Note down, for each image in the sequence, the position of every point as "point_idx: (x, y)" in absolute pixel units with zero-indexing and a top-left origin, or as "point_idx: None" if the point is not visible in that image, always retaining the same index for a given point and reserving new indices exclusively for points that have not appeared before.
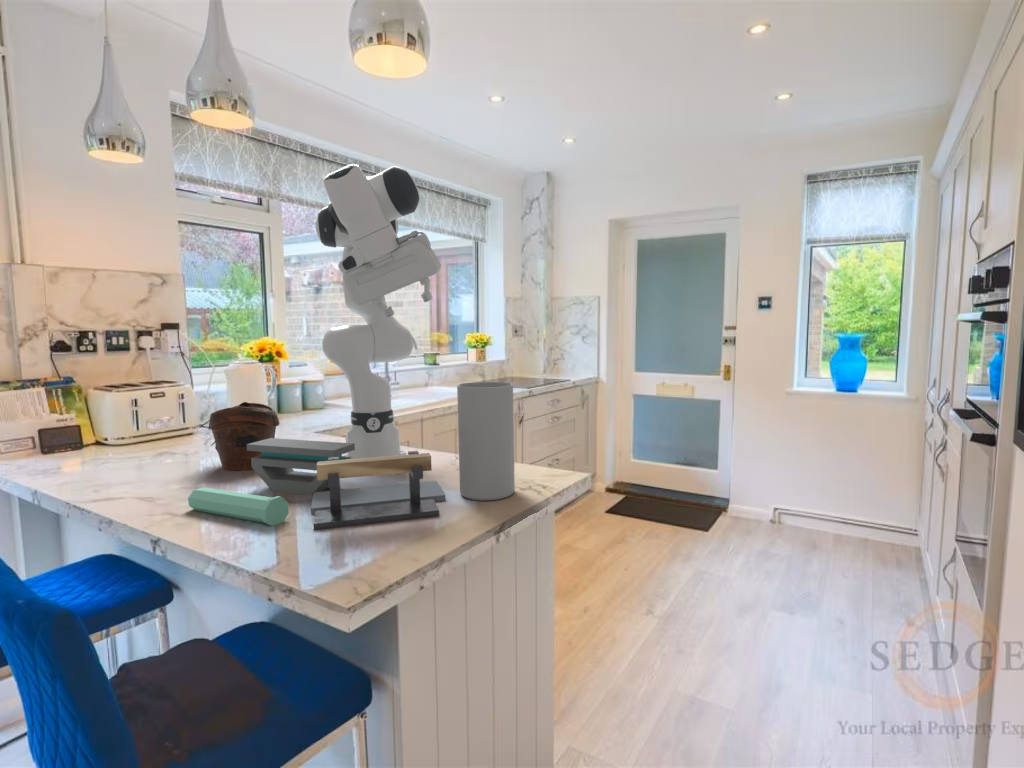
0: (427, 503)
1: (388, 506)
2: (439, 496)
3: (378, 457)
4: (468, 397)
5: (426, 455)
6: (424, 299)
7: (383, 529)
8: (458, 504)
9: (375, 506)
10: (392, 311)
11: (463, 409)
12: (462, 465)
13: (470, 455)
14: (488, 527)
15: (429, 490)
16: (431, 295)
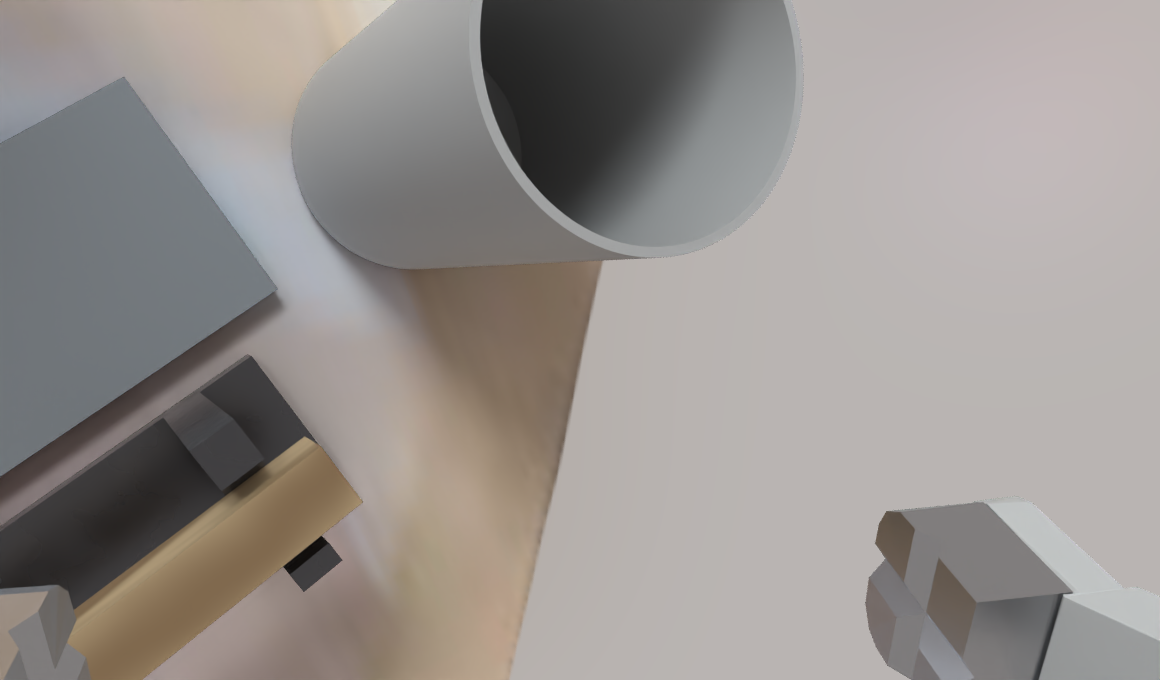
0: (257, 419)
1: (105, 512)
2: (255, 303)
3: (100, 630)
4: (575, 251)
5: (334, 499)
6: (912, 662)
7: (200, 674)
8: (348, 323)
9: (40, 532)
10: (53, 660)
11: (501, 236)
12: (375, 237)
13: (445, 261)
14: (534, 510)
15: (171, 244)
16: (1043, 527)
